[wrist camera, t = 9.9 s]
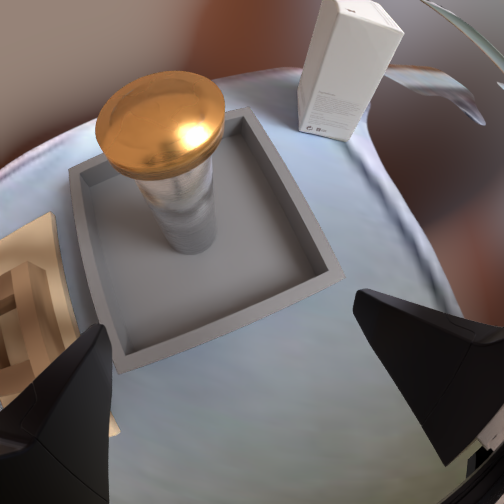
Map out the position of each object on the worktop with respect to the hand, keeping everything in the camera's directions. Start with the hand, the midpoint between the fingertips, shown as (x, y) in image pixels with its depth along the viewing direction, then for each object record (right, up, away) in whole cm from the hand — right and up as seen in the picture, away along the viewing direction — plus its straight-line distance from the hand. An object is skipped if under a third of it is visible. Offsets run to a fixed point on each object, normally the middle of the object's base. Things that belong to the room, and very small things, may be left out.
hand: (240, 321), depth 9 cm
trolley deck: (-20, -5, +9) cm, 22 cm away
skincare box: (+8, +18, +20) cm, 28 cm away
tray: (-4, +4, +14) cm, 15 cm away
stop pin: (-4, +4, +13) cm, 14 cm away
